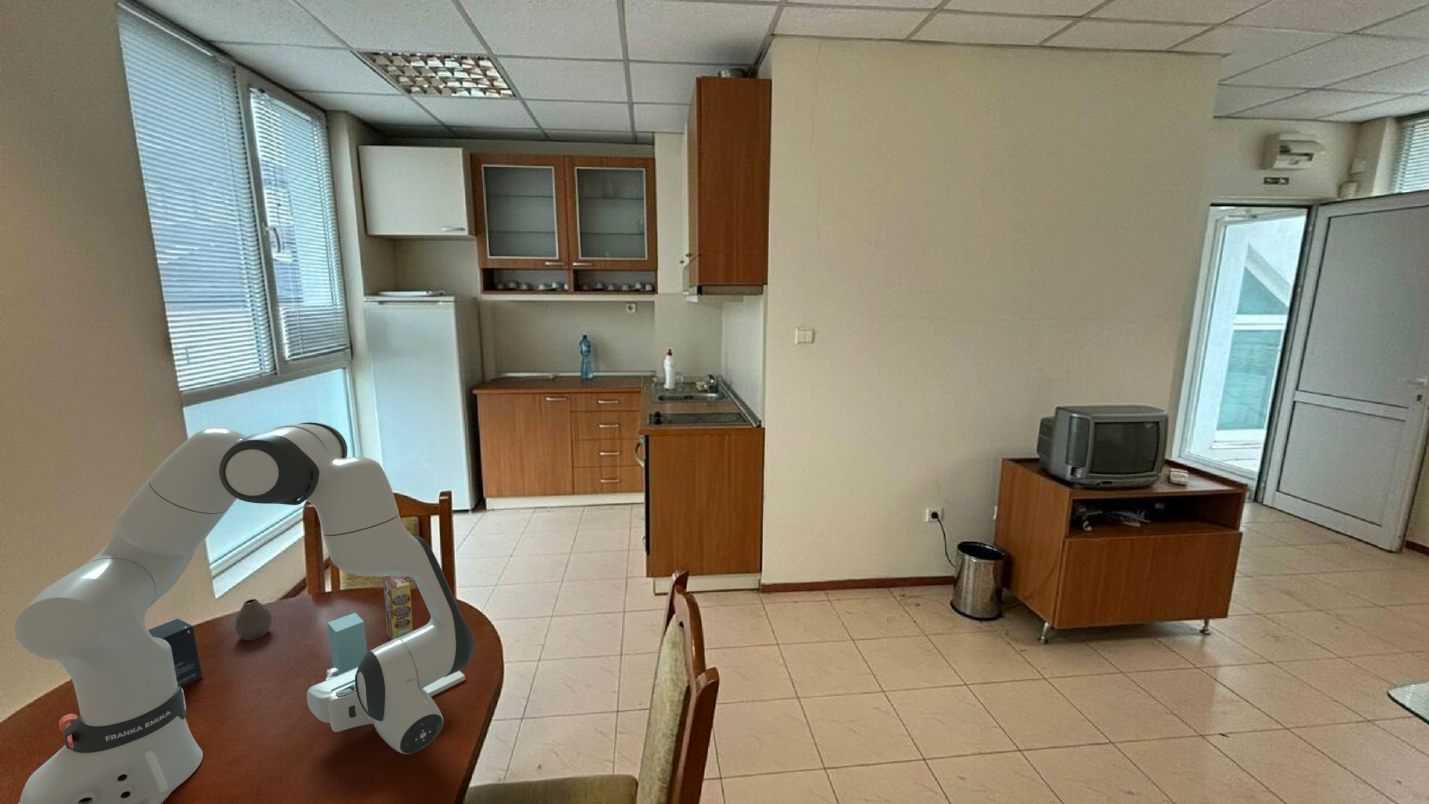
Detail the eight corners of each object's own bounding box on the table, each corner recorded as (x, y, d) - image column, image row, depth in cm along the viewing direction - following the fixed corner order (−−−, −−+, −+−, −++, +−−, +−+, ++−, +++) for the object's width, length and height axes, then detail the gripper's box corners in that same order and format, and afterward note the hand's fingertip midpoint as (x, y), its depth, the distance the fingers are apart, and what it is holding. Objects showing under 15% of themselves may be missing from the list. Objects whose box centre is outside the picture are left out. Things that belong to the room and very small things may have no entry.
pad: (405, 709, 113) (404, 705, 112) (381, 682, 120) (380, 678, 120) (465, 679, 122) (464, 675, 121) (439, 656, 129) (438, 652, 129)
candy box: (415, 645, 133) (410, 583, 131) (394, 652, 131) (389, 589, 128) (407, 628, 140) (401, 569, 137) (386, 634, 137) (381, 574, 135)
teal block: (343, 695, 116) (336, 631, 114) (334, 684, 120) (327, 622, 117) (370, 683, 120) (364, 621, 118) (361, 672, 123) (355, 612, 121)
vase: (228, 641, 134) (223, 606, 132) (259, 625, 140) (255, 591, 139) (250, 646, 132) (245, 611, 130) (280, 630, 138) (276, 596, 137)
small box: (187, 667, 124) (179, 616, 122) (204, 677, 121) (195, 625, 119) (103, 705, 113) (92, 650, 111) (119, 717, 110) (108, 660, 108)
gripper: (441, 651, 113) (411, 624, 122) (320, 705, 98) (296, 670, 107) (443, 680, 114) (414, 651, 123) (323, 738, 99) (299, 700, 108)
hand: (358, 660), depth 115 cm, fingers open, 8 cm apart
